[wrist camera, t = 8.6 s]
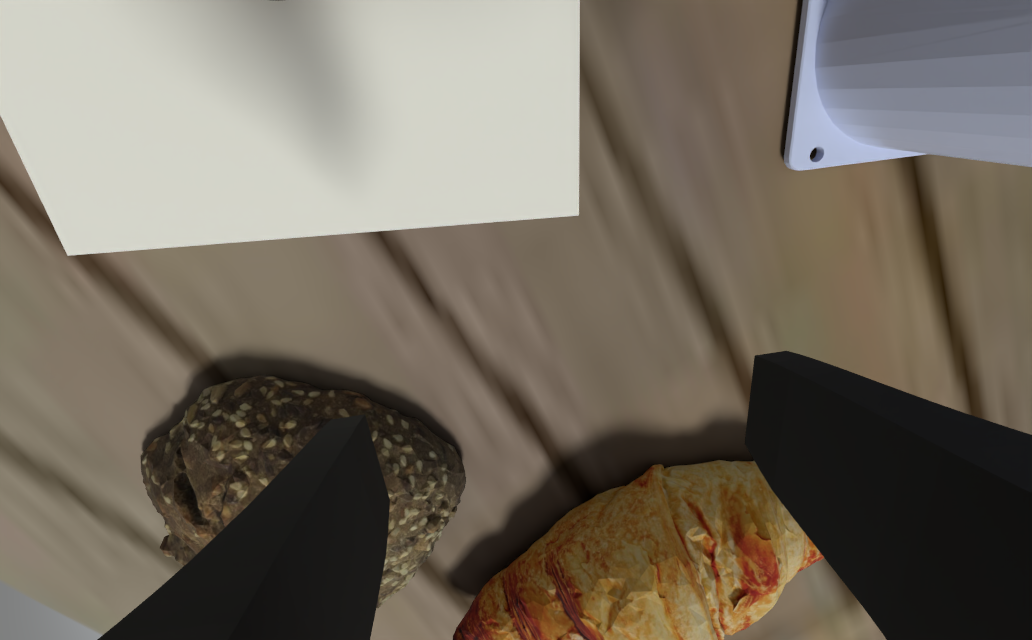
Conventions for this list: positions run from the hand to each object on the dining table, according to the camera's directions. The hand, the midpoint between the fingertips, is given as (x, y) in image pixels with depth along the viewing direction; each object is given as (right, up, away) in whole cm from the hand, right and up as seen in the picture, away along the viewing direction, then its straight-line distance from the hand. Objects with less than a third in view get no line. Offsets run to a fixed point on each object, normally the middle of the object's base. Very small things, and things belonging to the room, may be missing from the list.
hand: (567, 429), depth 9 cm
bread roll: (-10, -5, +13) cm, 18 cm away
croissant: (+6, -9, +17) cm, 20 cm away
